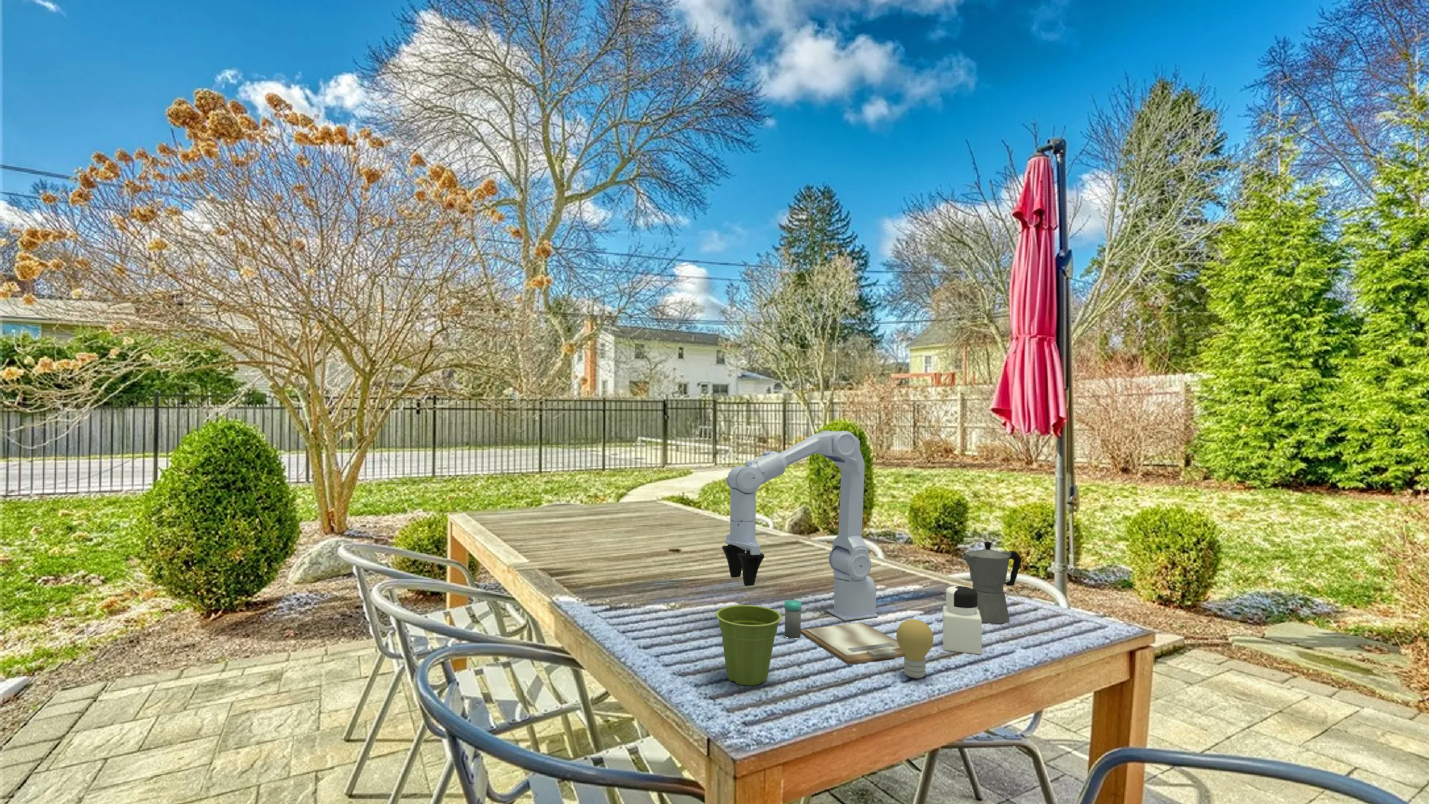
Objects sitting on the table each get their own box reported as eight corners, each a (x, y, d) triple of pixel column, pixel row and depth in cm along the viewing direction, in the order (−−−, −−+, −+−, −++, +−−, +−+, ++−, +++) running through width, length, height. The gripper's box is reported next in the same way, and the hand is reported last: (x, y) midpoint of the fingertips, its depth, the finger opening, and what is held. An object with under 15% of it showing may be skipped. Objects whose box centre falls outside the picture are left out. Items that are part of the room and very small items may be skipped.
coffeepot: (975, 626, 142) (974, 546, 142) (951, 613, 151) (951, 538, 151) (1034, 622, 145) (1034, 544, 145) (1007, 610, 154) (1007, 537, 154)
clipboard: (862, 625, 141) (862, 619, 141) (919, 655, 123) (919, 648, 123) (799, 632, 136) (799, 626, 136) (849, 665, 117) (849, 658, 117)
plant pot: (732, 697, 103) (732, 628, 104) (704, 670, 114) (705, 608, 114) (793, 686, 108) (794, 620, 108) (761, 661, 119) (762, 602, 119)
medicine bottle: (979, 643, 130) (979, 585, 131) (981, 655, 124) (981, 594, 124) (942, 639, 133) (942, 582, 133) (943, 650, 126) (943, 590, 126)
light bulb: (928, 686, 108) (928, 628, 109) (892, 677, 112) (892, 621, 112) (937, 673, 114) (937, 618, 114) (901, 666, 117) (901, 612, 118)
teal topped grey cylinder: (796, 632, 136) (796, 599, 136) (804, 638, 132) (804, 603, 132) (781, 634, 134) (781, 600, 135) (789, 639, 131) (789, 605, 131)
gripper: (714, 516, 145) (713, 575, 144) (739, 525, 131) (738, 591, 131) (742, 514, 147) (741, 572, 147) (769, 524, 134) (768, 588, 133)
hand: (742, 581), depth 139 cm, fingers open, 7 cm apart
